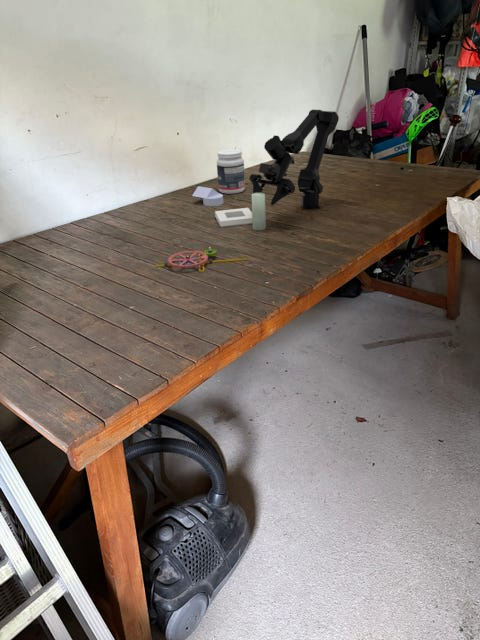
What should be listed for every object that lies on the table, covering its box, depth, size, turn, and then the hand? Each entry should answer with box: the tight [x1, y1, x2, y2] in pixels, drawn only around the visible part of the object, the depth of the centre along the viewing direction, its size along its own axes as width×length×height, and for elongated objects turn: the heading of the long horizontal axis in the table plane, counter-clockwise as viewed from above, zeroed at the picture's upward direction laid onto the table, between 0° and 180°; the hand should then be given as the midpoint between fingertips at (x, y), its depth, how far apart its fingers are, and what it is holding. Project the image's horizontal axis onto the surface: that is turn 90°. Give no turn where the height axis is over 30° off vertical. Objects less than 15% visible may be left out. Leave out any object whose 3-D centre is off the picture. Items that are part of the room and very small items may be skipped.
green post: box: [251, 192, 267, 231], centre depth 189 cm, size 5×5×13 cm
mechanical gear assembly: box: [154, 246, 248, 273], centre depth 164 cm, size 30×4×15 cm
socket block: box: [214, 207, 253, 228], centre depth 202 cm, size 14×14×2 cm
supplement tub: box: [216, 149, 246, 195], centre depth 238 cm, size 13×13×18 cm
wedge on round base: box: [192, 185, 224, 207], centre depth 225 cm, size 9×7×13 cm
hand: (262, 202), depth 189 cm, fingers open, 9 cm apart
